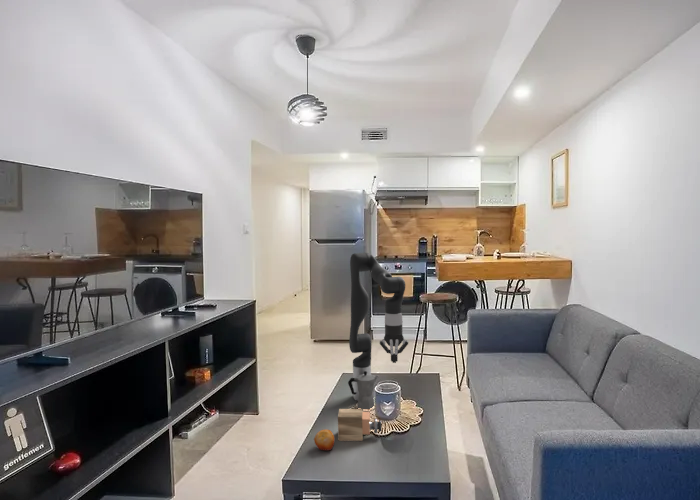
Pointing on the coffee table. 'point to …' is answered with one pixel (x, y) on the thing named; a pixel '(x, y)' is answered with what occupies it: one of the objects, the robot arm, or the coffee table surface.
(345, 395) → the coffee table surface
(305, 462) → the coffee table surface
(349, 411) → the wooden block
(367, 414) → the block
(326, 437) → the fruit
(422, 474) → the coffee table surface
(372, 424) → the shaft
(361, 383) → the coffeepot
